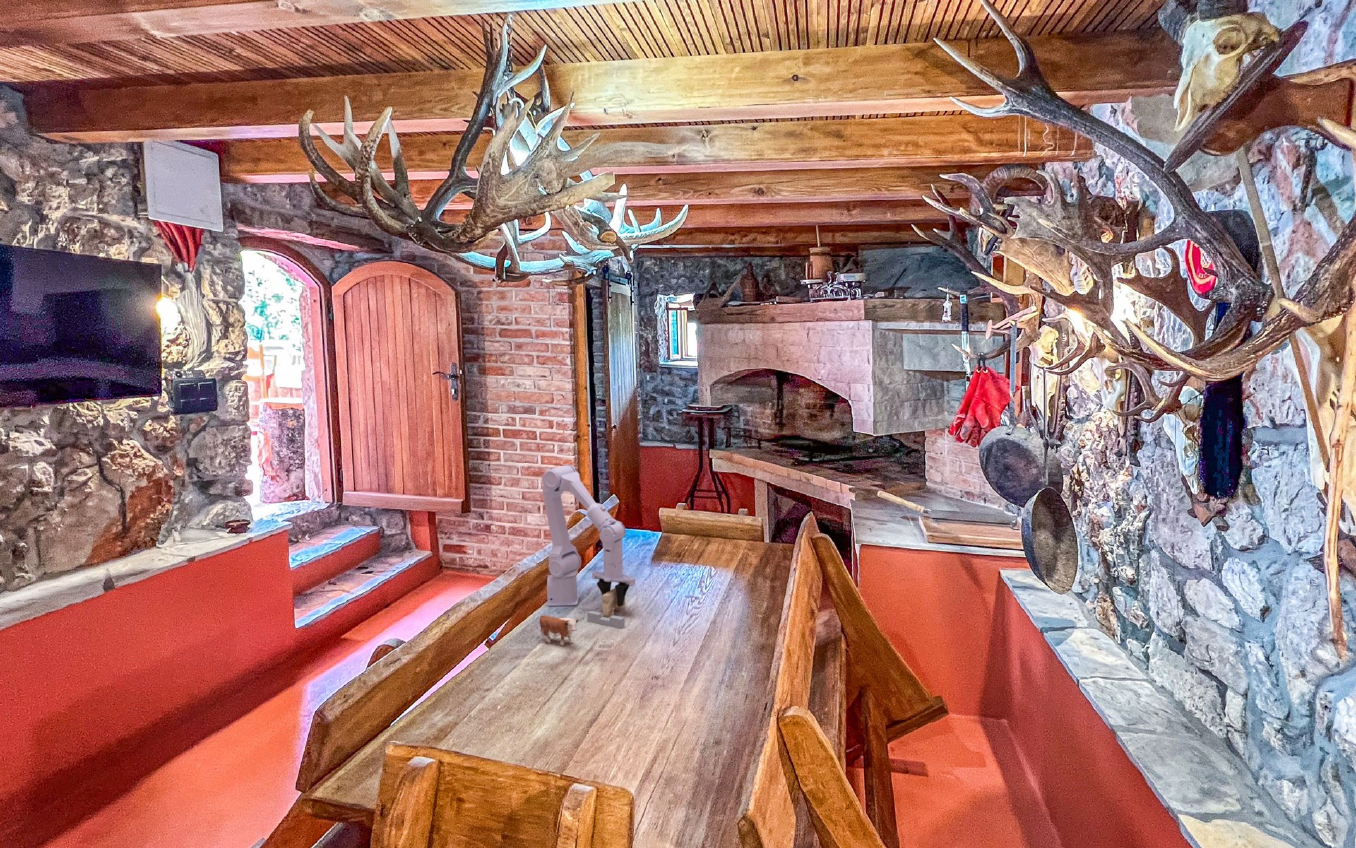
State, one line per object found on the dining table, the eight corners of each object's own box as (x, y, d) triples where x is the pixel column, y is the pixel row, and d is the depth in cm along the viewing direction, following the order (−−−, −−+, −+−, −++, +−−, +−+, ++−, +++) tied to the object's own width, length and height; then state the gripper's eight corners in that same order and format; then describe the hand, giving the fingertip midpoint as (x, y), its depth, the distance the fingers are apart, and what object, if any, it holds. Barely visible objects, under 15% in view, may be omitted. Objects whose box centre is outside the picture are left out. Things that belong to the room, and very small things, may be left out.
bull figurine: (573, 651, 206) (573, 622, 205) (536, 640, 213) (536, 613, 212) (583, 645, 210) (583, 617, 208) (547, 635, 217) (546, 608, 216)
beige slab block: (607, 618, 229) (607, 596, 228) (602, 617, 230) (602, 595, 229) (625, 607, 237) (624, 586, 237) (620, 606, 238) (619, 585, 237)
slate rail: (587, 621, 226) (587, 612, 226) (590, 619, 228) (590, 610, 228) (621, 628, 221) (621, 619, 221) (624, 626, 222) (624, 617, 222)
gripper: (586, 562, 231) (587, 604, 233) (626, 568, 224) (627, 612, 226) (599, 555, 237) (599, 597, 239) (638, 562, 231) (639, 604, 232)
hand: (613, 604), depth 233 cm, fingers open, 4 cm apart
